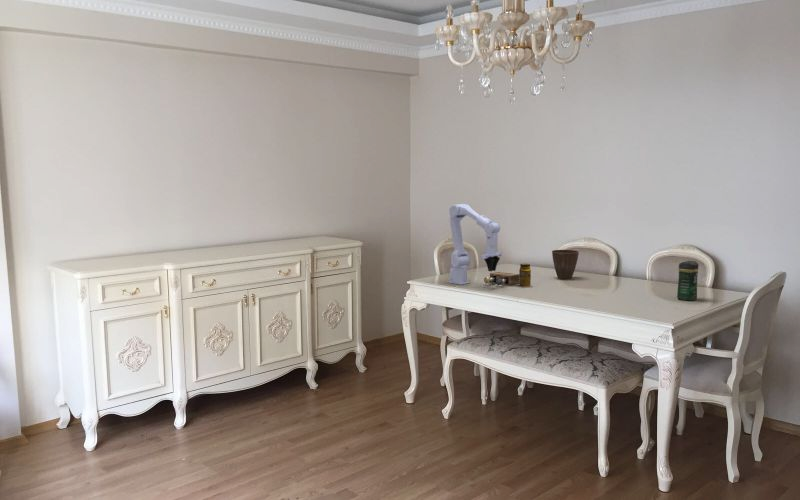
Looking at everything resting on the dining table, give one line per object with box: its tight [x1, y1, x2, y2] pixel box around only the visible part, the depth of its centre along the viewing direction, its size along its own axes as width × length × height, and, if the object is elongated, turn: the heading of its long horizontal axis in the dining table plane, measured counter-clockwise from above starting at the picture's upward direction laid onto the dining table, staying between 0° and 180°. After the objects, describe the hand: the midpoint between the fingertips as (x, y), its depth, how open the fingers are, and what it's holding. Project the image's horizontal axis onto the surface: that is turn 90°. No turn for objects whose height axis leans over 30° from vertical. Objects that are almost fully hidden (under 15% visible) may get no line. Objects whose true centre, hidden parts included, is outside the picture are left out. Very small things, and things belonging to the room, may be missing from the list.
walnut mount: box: [489, 271, 519, 287], centre depth 368 cm, size 14×8×6 cm, turn 44°
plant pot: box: [551, 249, 580, 281], centre depth 383 cm, size 15×15×16 cm
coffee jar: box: [676, 260, 699, 302], centre depth 318 cm, size 10×8×19 cm
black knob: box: [495, 278, 508, 286], centre depth 361 cm, size 3×9×3 cm, turn 134°
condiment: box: [512, 263, 533, 289], centre depth 360 cm, size 7×8×12 cm
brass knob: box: [483, 276, 496, 284], centre depth 367 cm, size 3×9×3 cm, turn 134°
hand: (491, 270), depth 353 cm, fingers open, 2 cm apart
